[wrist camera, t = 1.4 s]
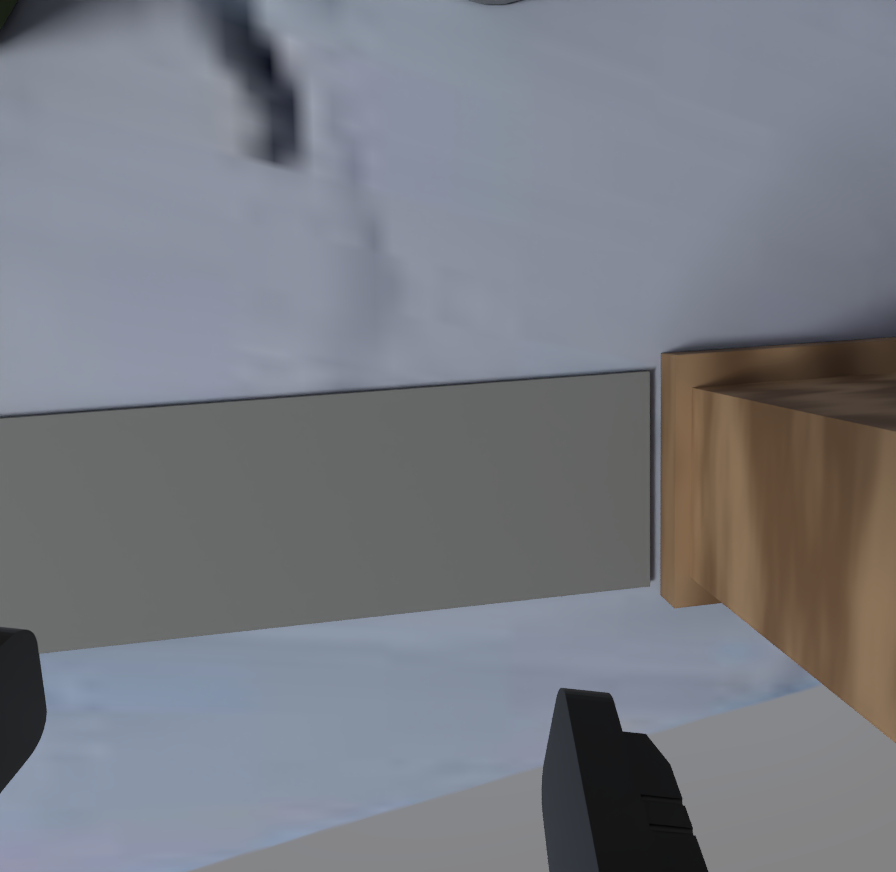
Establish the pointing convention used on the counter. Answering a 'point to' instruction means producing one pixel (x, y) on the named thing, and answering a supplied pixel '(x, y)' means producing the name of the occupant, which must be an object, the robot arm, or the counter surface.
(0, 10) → the green bottle
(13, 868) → the counter surface
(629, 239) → the counter surface
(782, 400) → the brown tall ridged block
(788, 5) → the counter surface
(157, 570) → the rubber mat
